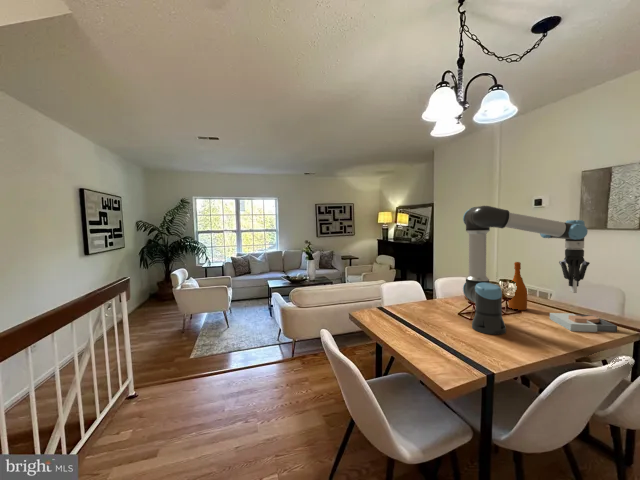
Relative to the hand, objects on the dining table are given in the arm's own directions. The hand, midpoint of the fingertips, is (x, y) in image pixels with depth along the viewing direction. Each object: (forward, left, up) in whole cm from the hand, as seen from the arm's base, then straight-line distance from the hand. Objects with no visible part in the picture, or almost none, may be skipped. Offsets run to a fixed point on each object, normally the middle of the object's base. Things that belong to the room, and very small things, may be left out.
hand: (573, 292), depth 148 cm
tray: (+7, -4, -16) cm, 18 cm away
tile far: (+8, 0, -14) cm, 16 cm away
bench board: (-3, -5, -16) cm, 18 cm away
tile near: (-3, -8, -13) cm, 16 cm away
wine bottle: (-17, +23, -17) cm, 33 cm away
